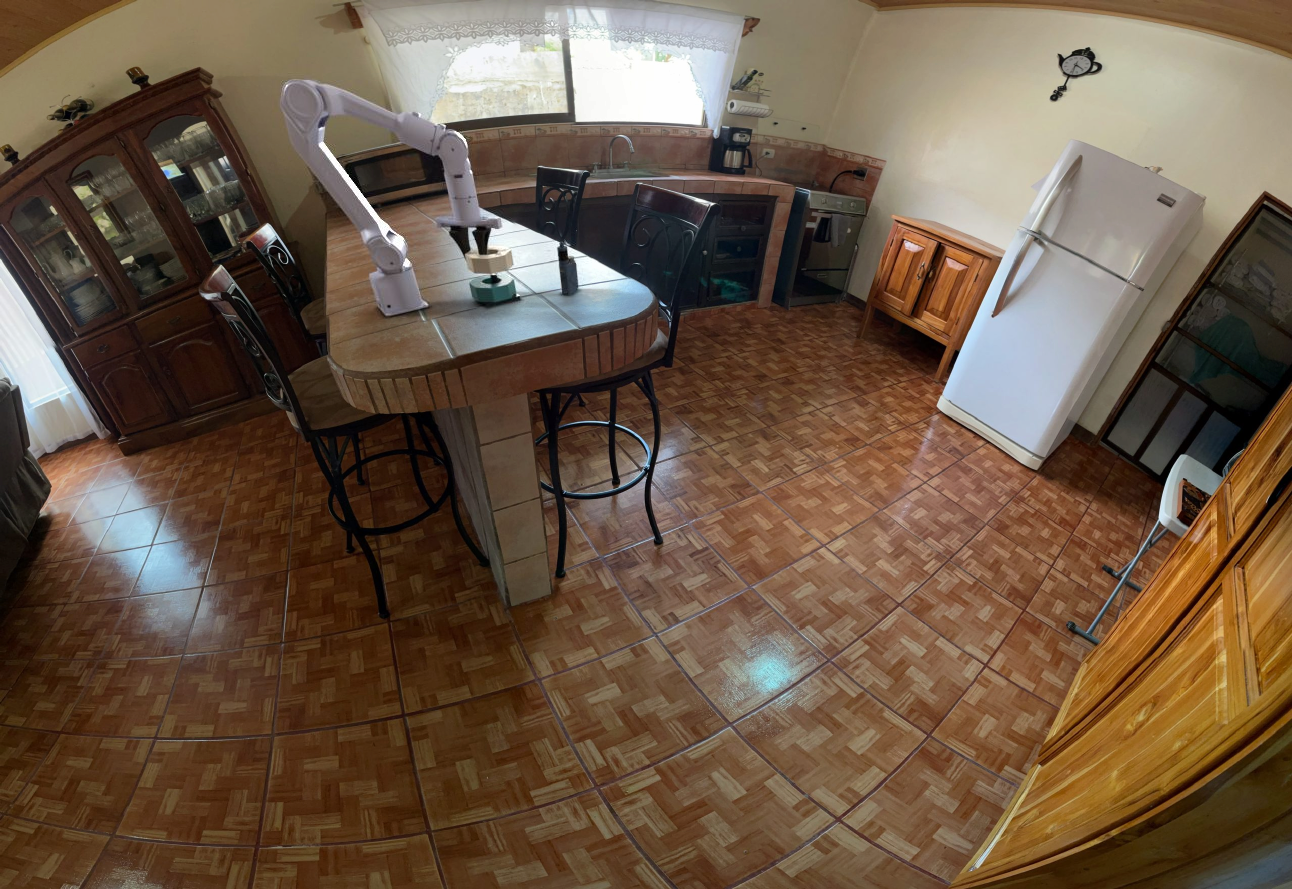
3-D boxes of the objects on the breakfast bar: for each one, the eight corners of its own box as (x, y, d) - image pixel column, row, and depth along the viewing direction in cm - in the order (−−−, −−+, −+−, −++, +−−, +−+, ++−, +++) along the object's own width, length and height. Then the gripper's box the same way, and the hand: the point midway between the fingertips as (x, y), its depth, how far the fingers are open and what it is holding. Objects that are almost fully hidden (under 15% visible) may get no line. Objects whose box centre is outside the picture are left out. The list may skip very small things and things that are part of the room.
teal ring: (483, 305, 116) (479, 290, 114) (467, 293, 122) (464, 279, 120) (521, 295, 121) (519, 281, 119) (504, 285, 127) (502, 271, 125)
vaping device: (559, 294, 124) (553, 243, 117) (572, 287, 127) (566, 238, 120) (568, 296, 123) (563, 245, 116) (580, 289, 126) (575, 239, 119)
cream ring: (479, 276, 112) (476, 261, 110) (463, 266, 118) (460, 251, 116) (519, 267, 117) (516, 252, 115) (501, 258, 123) (499, 243, 121)
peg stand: (489, 307, 117) (484, 282, 114) (476, 298, 123) (470, 273, 119) (520, 299, 121) (516, 274, 118) (506, 290, 126) (502, 266, 123)
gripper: (502, 193, 111) (512, 256, 119) (440, 192, 113) (454, 254, 121) (489, 199, 106) (501, 265, 114) (424, 199, 107) (441, 263, 116)
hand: (476, 260), depth 117 cm, fingers closed on cream ring, 3 cm apart
